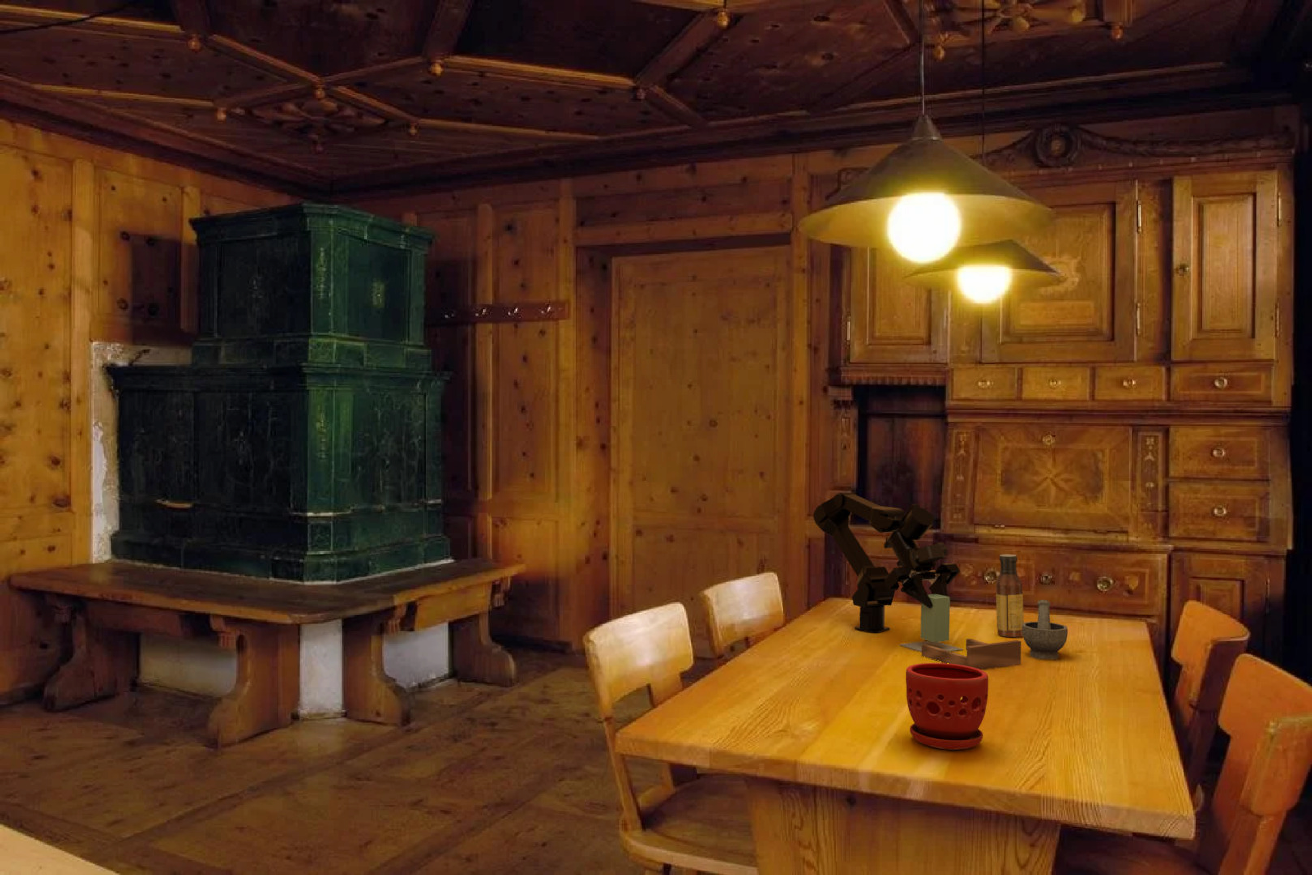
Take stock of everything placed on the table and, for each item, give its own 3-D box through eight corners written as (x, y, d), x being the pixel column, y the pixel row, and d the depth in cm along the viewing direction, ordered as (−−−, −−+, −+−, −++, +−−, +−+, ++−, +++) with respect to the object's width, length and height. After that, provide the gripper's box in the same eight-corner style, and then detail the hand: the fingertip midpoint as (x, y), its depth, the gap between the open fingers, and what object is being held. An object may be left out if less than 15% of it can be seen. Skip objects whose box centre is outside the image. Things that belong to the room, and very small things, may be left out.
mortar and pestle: (1068, 663, 218) (1068, 608, 218) (1022, 659, 221) (1023, 605, 221) (1064, 651, 228) (1065, 599, 228) (1021, 648, 231) (1021, 597, 231)
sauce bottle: (1026, 634, 246) (1027, 554, 246) (1020, 639, 241) (1021, 557, 240) (998, 631, 249) (999, 552, 249) (992, 636, 244) (993, 555, 244)
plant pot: (1003, 751, 160) (1004, 677, 160) (928, 757, 157) (928, 681, 157) (962, 726, 173) (962, 658, 172) (891, 731, 170) (892, 661, 170)
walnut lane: (921, 655, 224) (921, 633, 224) (969, 649, 230) (970, 627, 230) (970, 671, 210) (971, 647, 210) (1020, 664, 217) (1021, 641, 217)
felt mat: (899, 645, 234) (899, 644, 234) (932, 641, 238) (932, 640, 238) (929, 654, 225) (929, 653, 225) (962, 650, 229) (962, 648, 229)
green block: (920, 638, 231) (921, 595, 231) (935, 636, 233) (936, 593, 233) (934, 642, 227) (934, 598, 227) (949, 640, 229) (949, 597, 229)
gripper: (893, 533, 229) (925, 588, 220) (955, 529, 237) (988, 582, 228) (870, 562, 236) (901, 617, 227) (931, 557, 245) (963, 610, 235)
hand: (939, 606), depth 229 cm, fingers closed on green block, 4 cm apart
